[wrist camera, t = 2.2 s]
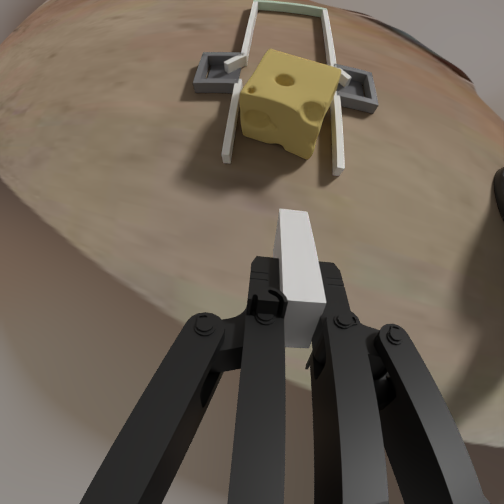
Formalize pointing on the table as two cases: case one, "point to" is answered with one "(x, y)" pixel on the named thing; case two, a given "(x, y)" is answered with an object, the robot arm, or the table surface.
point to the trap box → (230, 64)
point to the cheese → (287, 101)
